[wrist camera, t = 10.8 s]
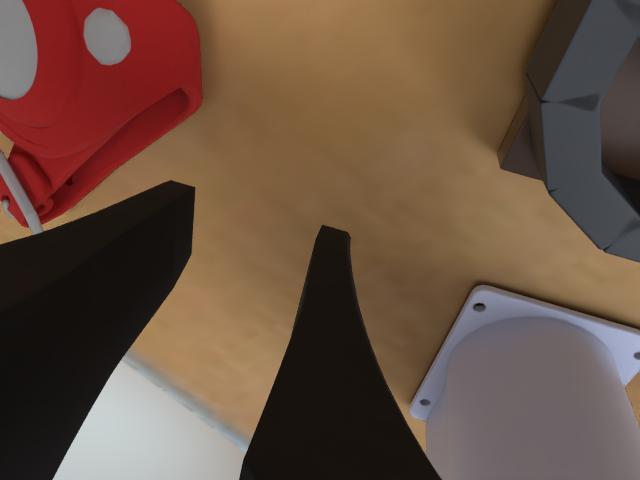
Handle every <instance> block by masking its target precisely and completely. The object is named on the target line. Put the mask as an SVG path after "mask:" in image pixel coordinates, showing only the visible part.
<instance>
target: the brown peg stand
mask: <svg viewBox="0 0 640 480" xmlns="http://www.w3.org/2000/svg"><path fill="white" fill-rule="evenodd" d="M601 144H602V160H603V161H604V163H605V164H606V165H607V166H608V167H609V169H610V170H611V171H612V172H613V173H614V174H616V175H619V176H623V177H626V178H630V179H633V180H637V181H640V36H639V37H638V39H637V41H636V42H635V44H634V46H633V48H632V49H631V51H630V53H629V54H628V56H627V58H626V60H625V61H624V63H623V65H622V67H621V68H620V70H619V72H618V73H617V75H616V77H615V79H614V80H613V82H612V84H611V85H610V87H609V89H608V91H607V92H606V94H605V96H604V98H603V99H602V101H601ZM497 156H498V161H499V165H500V168H501V169H503V170H506V171H510V172H513V173H517V174H520V175H524V176H527V177H531V178H534V179H538V180H541V181H543V179H542V176H541V173H540V171H539V168H538V165H537V163H536V160H535V157H534V154H533V152H532V147H531V136H530V125H529V115H528V104H527V93H526V94H525V97H524V99H523V101H522V103H521V105H520V107H519V109H518V111H517V113H516V116H515V118H514V120H513V122H512V124H511V126H510V128H509V130H508V132H507V134H506V137H505V139H504V141H503V143H502V145H501V147H500V149H499V151H498V153H497Z"/></svg>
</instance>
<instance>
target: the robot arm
mask: <svg viewBox="0 0 640 480" xmlns="http://www.w3.org/2000/svg"><path fill="white" fill-rule="evenodd" d="M194 202H195V187H192V186H189V185H185V184H182V183H179V182H175V181H172V180H170V181H167V182H165V183H162V184H160V185H157V186H155V187H153V188H151V189H148V190H146V191H144V192H141V193H139V194H137V195H135V196H132V197H130V198H128V199H126V200H123V201H121V202H119V203H116V204H114V205H112V206H109V207H107V208H105V209H102V210H100V211H98V212H95V213H93V214H90V215H87V216H85V217H82V218H79V219H77V220H74V221H71V222H69V223H66V224H63V225H61V226H58V227H56V228H53V229H50V230H47V231H44V232H41V233H38V234H35V235H31V236H28V237H25V238H21V239H18V240H14V241H11V242H7V243H4V244H0V480H52V479H53V478H54V476H55V474H56V472H57V470H58V468H59V466H60V464H61V462H62V460H63V458H64V456H65V455H66V453H67V451H68V449H69V447H70V446H71V443H72V442H73V440H74V438H75V437H76V435H77V433H78V431H79V429H80V427H81V426H82V424H83V422H84V420H85V419H86V417H87V415H88V413H89V411H90V410H91V408H92V406H93V404H94V403H95V401H96V399H97V398H98V396H99V394H100V392H101V391H102V389H103V387H104V386H105V384H106V382H107V381H108V379H109V377H110V375H111V374H112V372H113V371H114V369H115V368H116V366H117V365H118V363H119V362H120V360H121V359H122V358H123V356H124V355H125V353H126V352H127V351H128V349H129V348H130V347H131V345H132V344H133V343H134V341H135V340H136V339H137V337H138V336H139V334H140V333H141V332H142V330H143V329H144V328H145V326H146V325H147V324H148V322H149V321H150V320H151V318H152V317H153V315H154V314H155V313H156V311H157V310H158V309H159V307H160V306H161V304H162V303H163V302H164V300H165V299H166V298H167V296H168V295H169V293H170V292H171V291H172V289H173V288H174V286H175V284H176V282H177V280H178V279H179V277H180V275H181V273H182V271H183V269H184V268H185V266H186V264H187V262H188V260H189V258H190V256H191V252H192V235H193V219H194ZM350 241H351V237H350V235H349V233H348V232H346V231H342V230H339V229H336V228H332V227H329V226H325V225H322V226H321V228H320V231H319V233H318V235H317V238H316V240H315V244H314V248H313V252H312V256H311V260H310V263H309V267H308V271H307V275H306V279H305V283H304V287H303V291H302V295H301V299H300V303H299V307H298V311H297V314H296V318H295V322H294V326H293V331H292V335H291V339H290V342H289V344H288V347H287V350H286V352H285V355H284V358H283V360H282V363H281V366H280V369H279V371H278V374H277V376H276V379H275V382H274V384H273V387H272V389H271V392H270V395H269V397H268V400H267V402H266V405H265V408H264V410H263V413H262V415H261V418H260V420H259V423H258V425H257V428H256V430H255V433H254V435H253V438H252V440H251V443H250V445H249V448H248V450H247V452H246V455H245V457H244V460H243V464H242V469H241V474H240V478H239V480H640V427H639V425H638V422H637V419H636V417H635V414H634V411H633V409H632V406H631V403H630V401H629V398H628V395H627V393H626V390H625V388H624V387H625V386H626V384H627V383H628V382H629V381H630V380H631V379H632V378H633V377H634V376H635V375H636V374H637V373H638V372H639V371H640V352H639V353H636V352H638V351H640V330H638V329H635V328H631V327H628V326H625V325H621V324H618V323H614V322H611V321H608V320H604V319H601V318H597V317H594V316H591V315H587V314H584V313H580V312H577V311H573V310H570V309H567V308H563V307H560V306H556V305H553V304H550V303H546V302H543V301H539V300H536V299H533V298H529V297H526V296H522V295H519V294H516V293H512V292H509V291H505V290H502V289H499V288H495V287H492V286H488V285H480V286H477V287H475V288H474V289H473V290H472V292H471V294H470V296H469V297H468V299H467V301H466V303H465V305H464V307H463V308H462V310H461V312H460V314H459V316H458V318H457V319H456V321H455V323H454V325H453V327H452V329H451V330H450V332H449V334H448V336H447V338H446V340H445V342H444V343H443V345H442V347H441V349H440V351H439V353H438V354H437V356H436V358H435V360H434V362H433V364H432V365H431V367H430V369H429V371H428V373H427V375H426V376H425V378H424V380H423V382H422V384H421V386H420V387H419V389H418V391H417V393H416V395H415V397H414V399H413V400H412V402H411V404H410V407H409V413H410V415H411V416H412V417H414V418H417V419H420V420H423V421H426V422H427V425H426V455H425V453H424V451H423V450H422V448H421V446H420V445H419V443H418V441H417V440H416V438H415V436H414V434H413V433H412V431H411V429H410V428H409V426H408V424H407V422H406V420H405V418H404V416H403V414H402V412H401V410H400V409H399V407H398V405H397V403H396V401H395V399H394V397H393V395H392V393H391V391H390V389H389V387H388V385H387V383H386V381H385V378H384V376H383V374H382V371H381V369H380V367H379V364H378V362H377V359H376V357H375V354H374V351H373V349H372V346H371V343H370V340H369V338H368V335H367V331H366V328H365V325H364V321H363V318H362V315H361V311H360V307H359V303H358V299H357V294H356V289H355V284H354V279H353V273H352V265H351V255H350ZM476 303H483V305H482V306H476V305H475V304H476Z"/></svg>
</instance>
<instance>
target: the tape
mask: <svg viewBox="0 0 640 480" xmlns="http://www.w3.org/2000/svg"><path fill="white" fill-rule="evenodd" d="M639 36H640V0H557V3H556V5H555V7H554V9H553V11H552V13H551V16H550V18H549V20H548V22H547V24H546V26H545V28H544V31H543V33H542V35H541V37H540V39H539V41H538V44H537V46H536V48H535V50H534V52H533V54H532V57H531V59H530V61H529V63H528V65H527V67H526V71H527V73H525V83H526V93H527V104H528V115H529V125H530V136H531V147H532V152H533V154H534V157H535V160H536V163H537V165H538V168H539V171H540V173H541V176H542V179H543V182H544V184H545V187H546V189H547V191H548V193H549V195H550V196H551V197H552V198H553V199H554V200H555V202H556V203H557V204H558V205H559V206H560V207H561V208H562V209H563V210H564V211H565V213H566V214H567V215H568V216H569V217H570V218H571V219H572V220H573V221H574V222H575V223H576V225H577V226H578V227H579V228H580V229H581V230H582V231H583V232H584V233H585V234H586V235H587V237H588V238H589V239H590V240H591V241H592V242H593V243H594V244H595V245H596V246H597V247H598V248H599V249H600V250H602V249H603V251H604V252H605V253H609V254H612V255H616V256H619V257H623V258H626V259H629V260H633V261H636V262H640V181H637V180H633V179H630V178H626V177H623V176H619V175H616V174H614V173H613V172H612V171H611V170H610V169H609V167H608V166H607V165H606V164H605V163H604V161H603V160H602V144H601V101H602V99H603V98H604V96H605V94H606V92H607V91H608V89H609V87H610V85H611V84H612V82H613V80H614V79H615V77H616V75H617V73H618V72H619V70H620V68H621V67H622V65H623V63H624V61H625V60H626V58H627V56H628V54H629V53H630V51H631V49H632V48H633V46H634V44H635V42H636V41H637V39H638V37H639Z"/></svg>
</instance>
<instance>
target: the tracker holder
mask: <svg viewBox="0 0 640 480" xmlns="http://www.w3.org/2000/svg"><path fill="white" fill-rule="evenodd" d="M202 99H203V96H202V75H201V54H200V37H199V32H198V29H197V26H196V23H195V21H194V19H193V17H192V16H191V15H190V13H189V12H188V11H187V10H186V9H185V8H184V7H182V6H181V5H180V4H179V3H178V2H177V1H176V0H0V131H1V132H2V133H3V134H4V135H6V136H7V137H8V138H9V139H10V140H12V141H13V142H14V146H13V148H12V150H11V153H10V156H9V158H8V160H7V158H6V157H5V155H4V153H3V152H2V151H1V150H0V201H1V202H2V207H3V209H4V211H5V212H6V214H7V215H9V216H11V217H13V218H16V220H17V221H18V222H19V223H20V224H21V226H24V227H29V228H30V230H31V231H32V233H33V235H35V234H38V233H41V232H44V231H43V228H42V225H41V224H44V223H46V222H48V221H50V220H52V219H54V218H56V217H58V216H60V215H62V214H63V213H65V212H66V211H68V210H69V209H70V208H72V207H73V206H75V205H76V204H77V203H78V202H79V201H80V200H81V199H83V198H84V197H85V196H86V195H87V194H88V193H89V192H90V191H92V190H93V189H94V188H95V187H96V186H97V185H98V184H99V183H100V182H102V181H103V180H104V179H105V178H106V177H107V176H108V175H109V174H110V173H111V172H112V171H114V170H115V169H117V168H118V167H119V166H121V165H122V164H124V163H125V162H126V161H128V160H129V159H131V158H132V157H133V156H135V155H136V154H138V153H139V152H140V151H142V150H143V149H145V148H146V147H147V146H149V145H150V144H152V143H153V142H154V141H156V140H157V139H159V138H160V137H161V136H163V135H164V134H166V133H167V132H168V131H170V130H171V129H173V128H174V127H175V126H177V125H178V124H180V123H181V122H182V121H184V120H185V119H187V118H188V117H189V116H191V115H192V114H193V113H195V112H196V111H197V110H198V109H199V107H200V106H201V103H202ZM72 178H73V180H74V181H72Z"/></svg>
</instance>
